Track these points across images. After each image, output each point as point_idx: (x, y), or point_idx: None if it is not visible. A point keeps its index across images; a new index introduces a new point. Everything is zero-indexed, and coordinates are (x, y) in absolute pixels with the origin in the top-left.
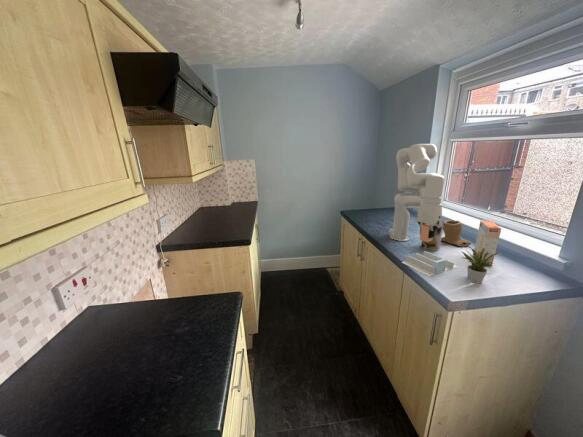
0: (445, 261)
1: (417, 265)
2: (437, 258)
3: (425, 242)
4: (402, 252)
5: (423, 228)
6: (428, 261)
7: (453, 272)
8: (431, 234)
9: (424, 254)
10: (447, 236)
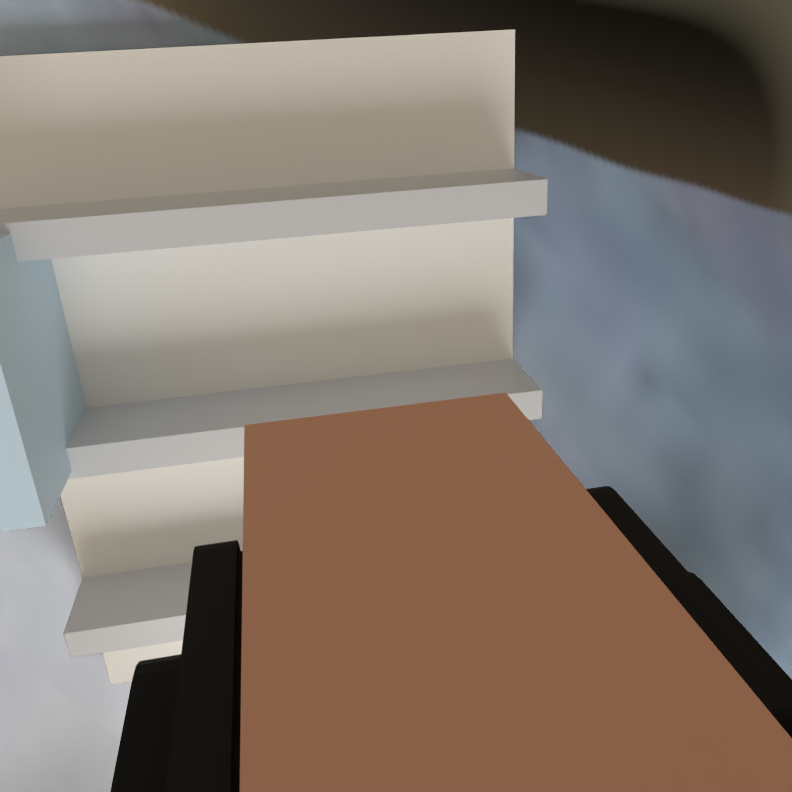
0: None
1: (307, 186)
2: None
3: None
4: (750, 373)
5: (608, 726)
6: (294, 402)
7: (27, 536)
8: (162, 713)
9: None
10: None
